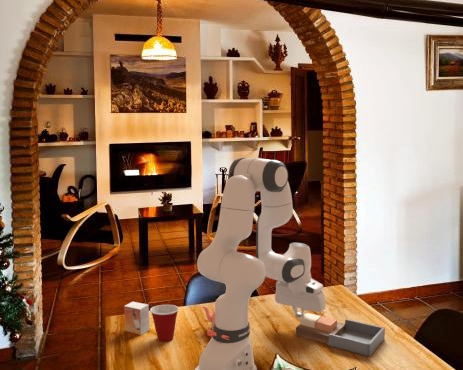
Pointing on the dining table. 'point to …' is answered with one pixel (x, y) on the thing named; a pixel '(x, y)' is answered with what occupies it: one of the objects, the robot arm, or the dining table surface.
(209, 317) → the pink branching coral
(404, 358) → the dining table surface
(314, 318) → the tile rear
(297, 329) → the plate
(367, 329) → the box
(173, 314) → the plastic cup
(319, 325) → the tile front
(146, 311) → the small box
